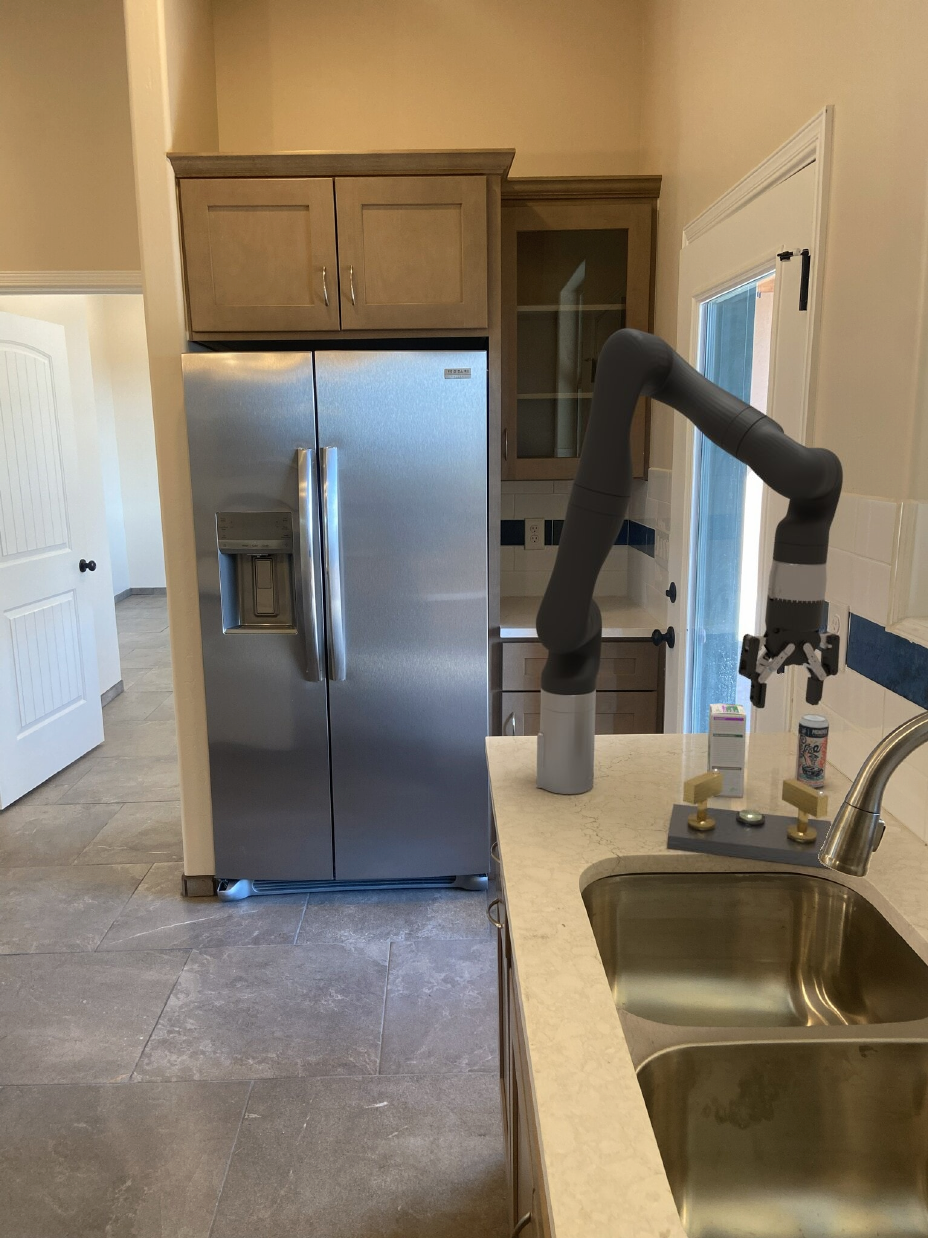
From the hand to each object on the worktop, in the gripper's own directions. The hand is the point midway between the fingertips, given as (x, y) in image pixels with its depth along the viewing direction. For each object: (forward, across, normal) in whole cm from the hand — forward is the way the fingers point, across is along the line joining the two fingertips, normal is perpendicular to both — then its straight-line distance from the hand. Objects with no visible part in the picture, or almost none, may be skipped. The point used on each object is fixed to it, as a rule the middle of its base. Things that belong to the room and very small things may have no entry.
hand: (784, 705), depth 128 cm
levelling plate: (+21, +3, -1) cm, 21 cm away
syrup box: (+21, -3, -19) cm, 29 cm away
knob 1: (+19, +10, -4) cm, 22 cm away
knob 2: (+19, -2, +3) cm, 19 cm away
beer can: (+21, -18, -18) cm, 34 cm away
